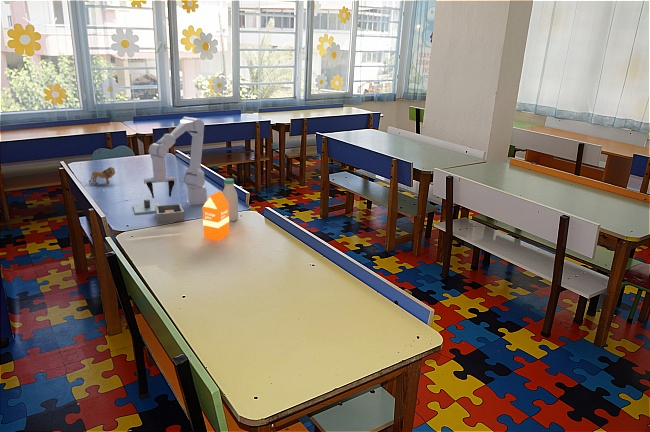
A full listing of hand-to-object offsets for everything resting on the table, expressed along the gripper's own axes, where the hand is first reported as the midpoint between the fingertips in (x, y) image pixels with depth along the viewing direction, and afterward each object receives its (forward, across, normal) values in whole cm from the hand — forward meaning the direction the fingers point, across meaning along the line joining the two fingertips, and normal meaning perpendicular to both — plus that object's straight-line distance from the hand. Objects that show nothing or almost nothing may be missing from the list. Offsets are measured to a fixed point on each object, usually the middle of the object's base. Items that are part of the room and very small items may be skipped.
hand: (161, 196), depth 239 cm
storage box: (+10, +3, -4) cm, 11 cm away
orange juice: (+10, +20, -31) cm, 38 cm away
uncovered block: (+9, +3, -4) cm, 11 cm away
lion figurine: (+10, -27, +63) cm, 69 cm away
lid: (+9, -6, +10) cm, 15 cm away
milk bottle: (+10, +30, -13) cm, 34 cm away
